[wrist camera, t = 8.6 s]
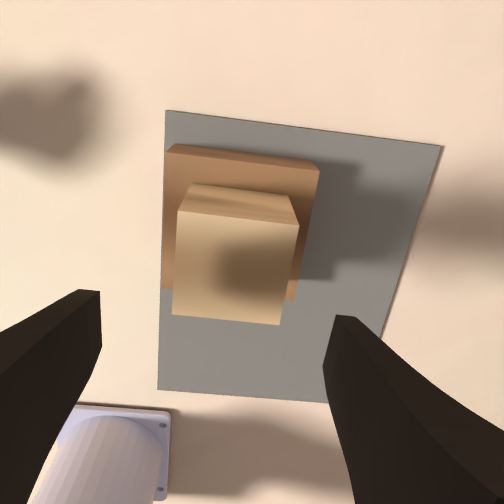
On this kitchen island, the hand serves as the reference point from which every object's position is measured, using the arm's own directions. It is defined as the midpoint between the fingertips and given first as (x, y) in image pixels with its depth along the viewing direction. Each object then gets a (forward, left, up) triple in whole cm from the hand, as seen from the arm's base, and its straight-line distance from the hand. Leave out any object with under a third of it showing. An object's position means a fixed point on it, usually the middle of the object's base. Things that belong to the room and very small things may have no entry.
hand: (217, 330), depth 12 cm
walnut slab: (0, 0, -10) cm, 10 cm away
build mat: (-4, -3, -10) cm, 12 cm away
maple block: (0, 0, -8) cm, 8 cm away
